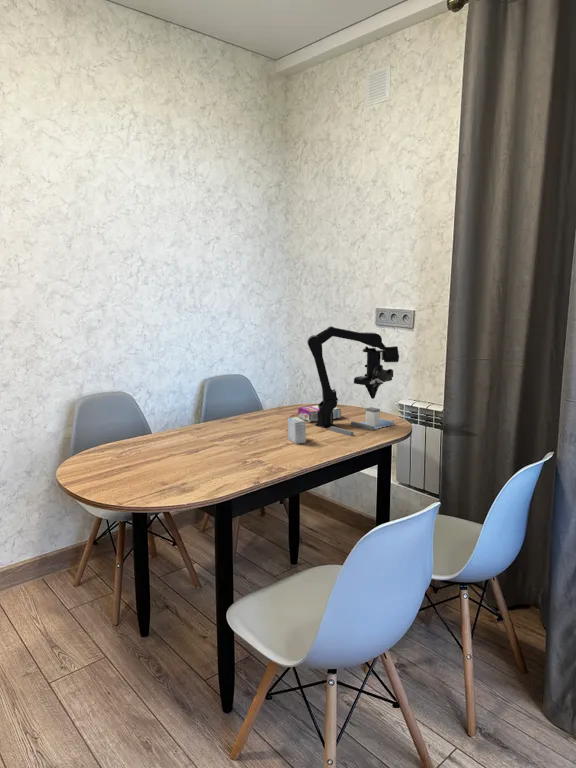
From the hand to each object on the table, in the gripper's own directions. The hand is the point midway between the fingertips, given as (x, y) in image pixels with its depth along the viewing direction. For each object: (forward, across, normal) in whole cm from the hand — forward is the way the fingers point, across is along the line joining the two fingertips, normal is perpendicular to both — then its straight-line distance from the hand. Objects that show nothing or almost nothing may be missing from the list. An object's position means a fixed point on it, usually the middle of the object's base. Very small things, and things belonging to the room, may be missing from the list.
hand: (372, 398), depth 228 cm
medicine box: (+12, -41, +3) cm, 43 cm away
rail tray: (+12, -6, 0) cm, 13 cm away
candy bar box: (+9, -17, +26) cm, 33 cm away
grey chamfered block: (+12, 0, 0) cm, 12 cm away
